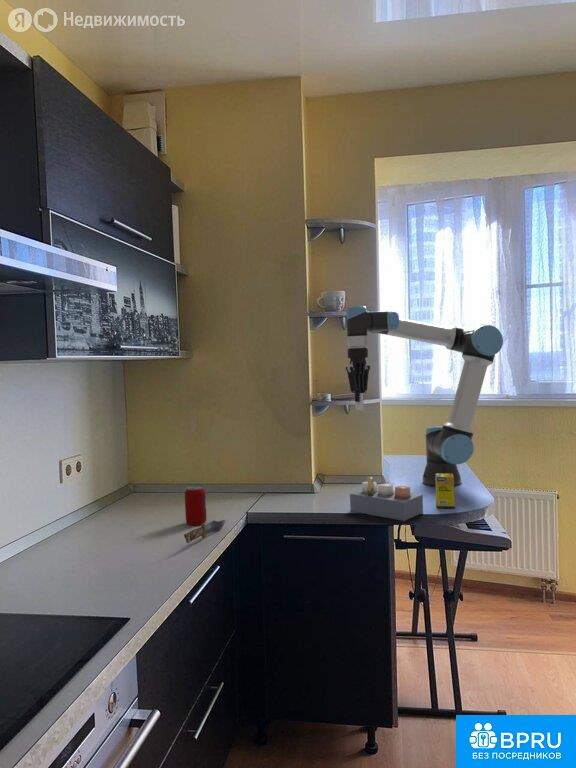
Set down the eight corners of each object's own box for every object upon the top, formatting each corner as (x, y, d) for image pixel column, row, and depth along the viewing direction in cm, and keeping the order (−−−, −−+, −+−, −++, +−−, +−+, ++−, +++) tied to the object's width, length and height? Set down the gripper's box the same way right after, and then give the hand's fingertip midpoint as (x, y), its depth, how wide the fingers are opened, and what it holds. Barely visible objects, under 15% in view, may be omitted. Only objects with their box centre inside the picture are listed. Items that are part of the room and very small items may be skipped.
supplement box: (454, 508, 197) (454, 476, 196) (436, 508, 198) (435, 476, 197) (453, 504, 202) (452, 473, 202) (435, 504, 204) (435, 473, 203)
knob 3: (400, 509, 195) (399, 485, 195) (413, 511, 192) (413, 487, 192) (392, 512, 192) (391, 488, 191) (405, 515, 188) (405, 490, 188)
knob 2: (383, 506, 200) (383, 483, 199) (396, 508, 196) (395, 484, 196) (375, 509, 196) (375, 485, 196) (388, 512, 193) (387, 487, 192)
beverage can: (211, 521, 192) (209, 486, 192) (197, 527, 186) (195, 490, 186) (195, 519, 196) (194, 484, 195) (181, 524, 190) (179, 488, 190)
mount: (370, 503, 208) (369, 487, 207) (423, 512, 194) (422, 494, 193) (350, 511, 199) (349, 493, 198) (404, 520, 185) (404, 502, 184)
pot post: (370, 494, 196) (369, 476, 196) (375, 495, 195) (374, 477, 195) (366, 495, 195) (366, 477, 195) (371, 496, 194) (371, 478, 193)
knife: (225, 525, 187) (224, 510, 187) (229, 526, 186) (228, 510, 186) (183, 550, 164) (182, 533, 164) (187, 551, 164) (186, 533, 163)
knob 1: (368, 503, 204) (367, 480, 204) (380, 506, 201) (379, 482, 200) (359, 507, 200) (359, 483, 200) (372, 509, 197) (371, 485, 197)
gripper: (359, 347, 225) (361, 408, 226) (339, 348, 216) (341, 411, 217) (375, 347, 220) (377, 408, 221) (355, 347, 211) (357, 412, 212)
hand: (359, 410), depth 219 cm, fingers closed
